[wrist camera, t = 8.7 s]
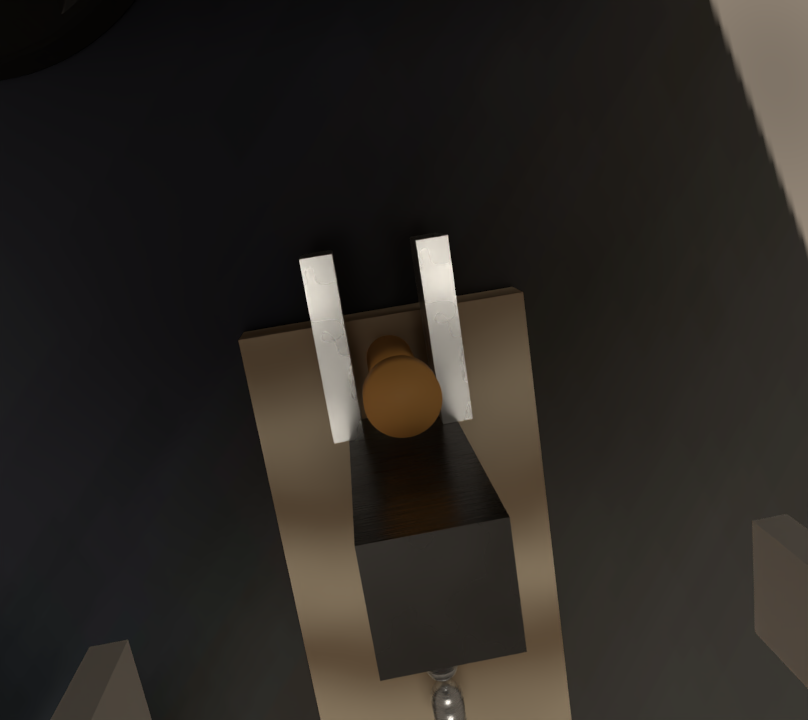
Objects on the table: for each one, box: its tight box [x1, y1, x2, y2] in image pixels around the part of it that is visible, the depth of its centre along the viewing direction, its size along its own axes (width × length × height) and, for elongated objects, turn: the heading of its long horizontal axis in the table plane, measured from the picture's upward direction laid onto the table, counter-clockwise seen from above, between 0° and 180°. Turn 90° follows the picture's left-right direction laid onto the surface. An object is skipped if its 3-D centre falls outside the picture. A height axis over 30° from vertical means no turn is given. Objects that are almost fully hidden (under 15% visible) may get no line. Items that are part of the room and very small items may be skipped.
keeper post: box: [362, 335, 442, 438], centre depth 22 cm, size 2×2×5 cm
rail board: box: [238, 287, 571, 720], centre depth 28 cm, size 26×10×2 cm, turn 9°
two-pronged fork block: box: [299, 232, 527, 720], centre depth 21 cm, size 19×5×9 cm, turn 9°
